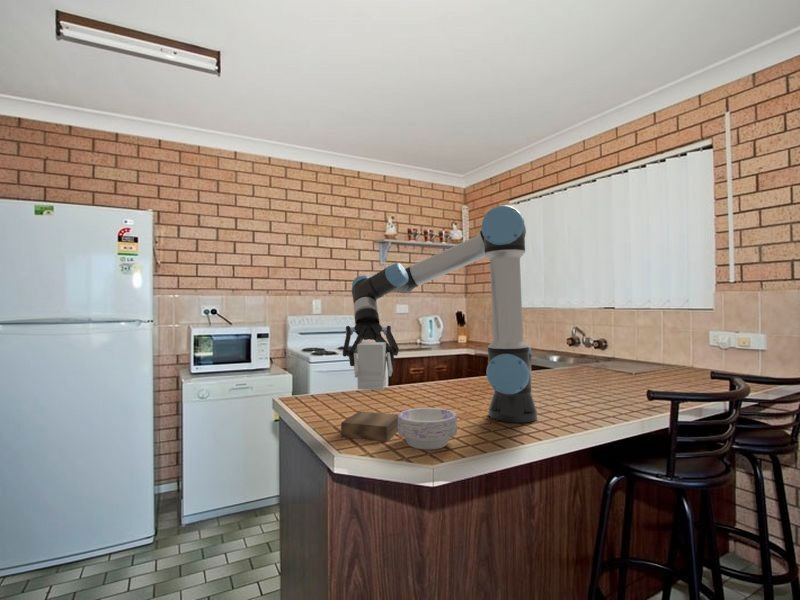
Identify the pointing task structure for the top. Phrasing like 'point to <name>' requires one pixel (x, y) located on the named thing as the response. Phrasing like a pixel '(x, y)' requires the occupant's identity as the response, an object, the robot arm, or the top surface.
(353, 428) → the block
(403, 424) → the paper bowls
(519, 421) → the robot arm
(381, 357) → the supplement box
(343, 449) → the top surface
